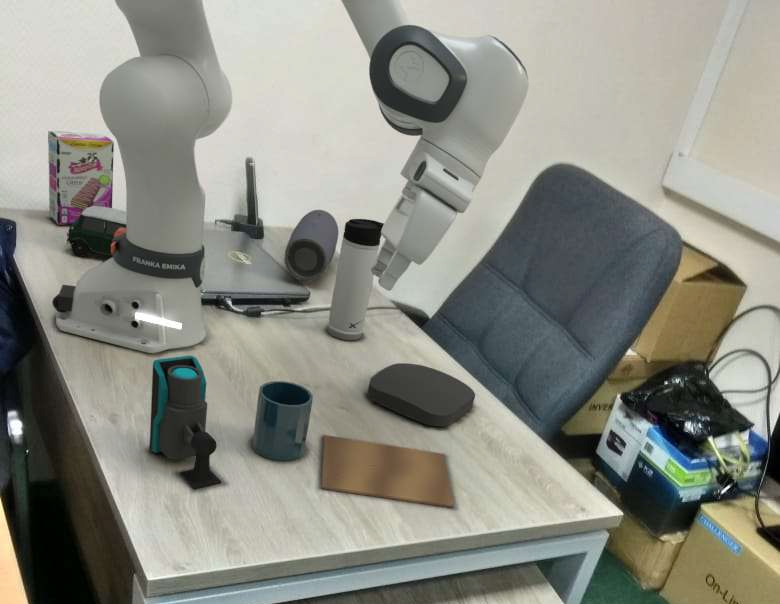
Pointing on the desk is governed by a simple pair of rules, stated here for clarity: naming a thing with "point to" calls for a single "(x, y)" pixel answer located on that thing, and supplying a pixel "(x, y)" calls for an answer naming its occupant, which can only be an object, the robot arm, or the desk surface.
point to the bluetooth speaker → (312, 245)
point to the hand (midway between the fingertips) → (379, 281)
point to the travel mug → (354, 278)
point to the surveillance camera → (182, 417)
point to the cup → (282, 420)
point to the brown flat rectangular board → (385, 471)
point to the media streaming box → (421, 393)
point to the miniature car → (95, 230)
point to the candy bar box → (78, 174)
